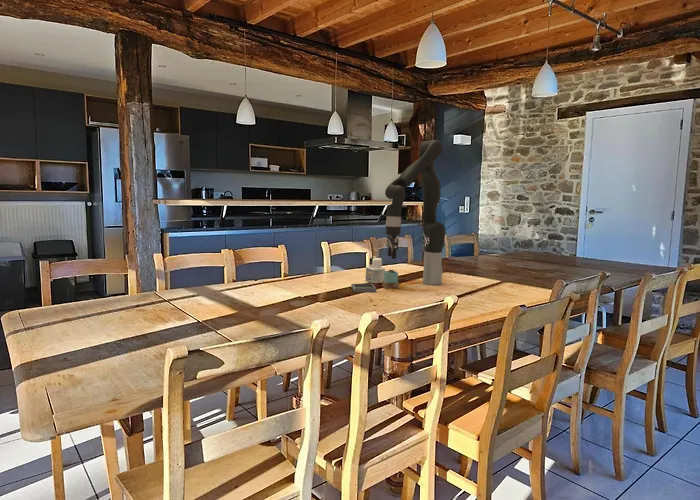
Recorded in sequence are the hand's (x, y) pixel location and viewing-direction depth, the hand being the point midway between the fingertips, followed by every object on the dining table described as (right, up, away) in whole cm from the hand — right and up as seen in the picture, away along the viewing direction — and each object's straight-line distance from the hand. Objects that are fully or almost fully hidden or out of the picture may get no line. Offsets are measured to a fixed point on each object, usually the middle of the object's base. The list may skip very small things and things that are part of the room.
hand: (391, 257), depth 242 cm
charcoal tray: (-14, -16, -6) cm, 22 cm away
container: (-8, -13, +16) cm, 22 cm away
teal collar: (0, -12, +2) cm, 13 cm away
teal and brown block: (0, -15, +2) cm, 16 cm away
